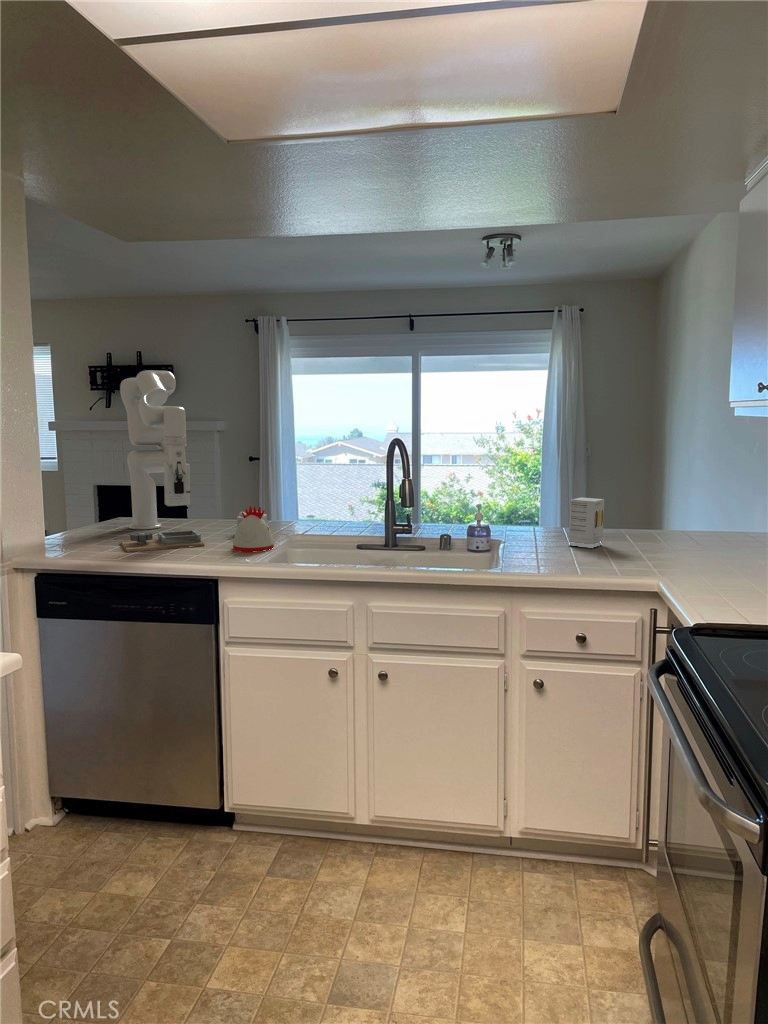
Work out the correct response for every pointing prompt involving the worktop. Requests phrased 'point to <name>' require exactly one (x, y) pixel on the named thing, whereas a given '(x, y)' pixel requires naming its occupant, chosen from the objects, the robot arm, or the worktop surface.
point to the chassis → (165, 541)
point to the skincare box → (169, 480)
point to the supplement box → (586, 520)
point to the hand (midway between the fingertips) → (177, 492)
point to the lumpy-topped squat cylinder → (240, 516)
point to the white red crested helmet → (253, 533)
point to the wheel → (141, 536)
